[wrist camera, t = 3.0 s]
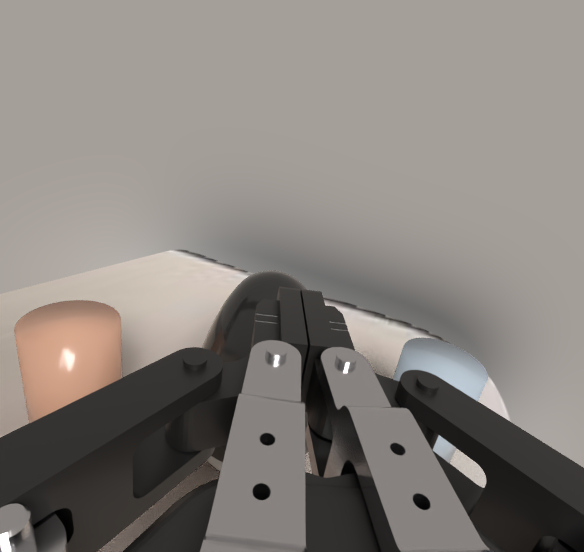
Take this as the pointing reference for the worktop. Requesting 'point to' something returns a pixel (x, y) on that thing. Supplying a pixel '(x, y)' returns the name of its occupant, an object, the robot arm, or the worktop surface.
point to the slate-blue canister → (444, 373)
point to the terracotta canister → (67, 353)
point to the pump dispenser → (243, 325)
